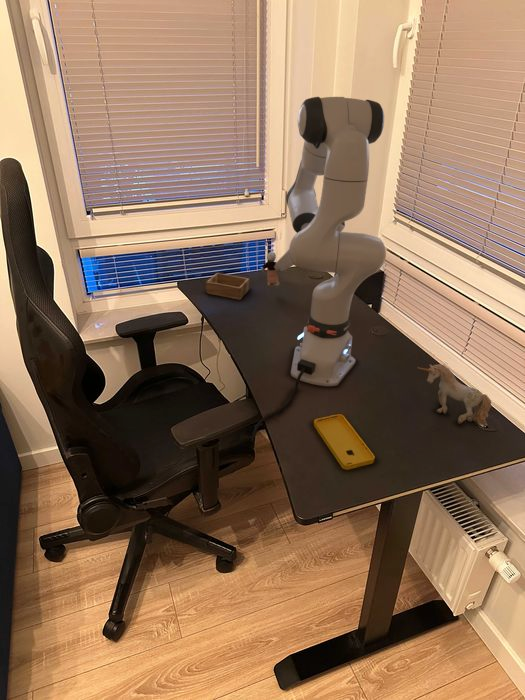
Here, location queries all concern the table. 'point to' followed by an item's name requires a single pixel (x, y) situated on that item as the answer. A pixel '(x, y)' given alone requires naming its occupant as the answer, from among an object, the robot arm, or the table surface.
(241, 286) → the holder
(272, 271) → the grandmother figurine
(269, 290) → the table surface
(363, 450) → the phone case
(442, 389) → the unicorn figurine
